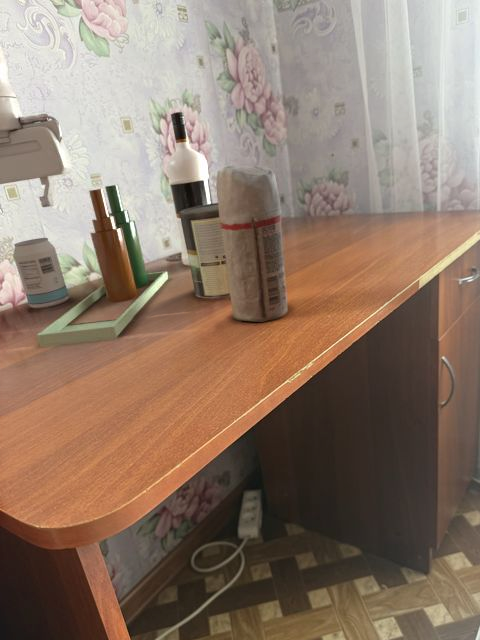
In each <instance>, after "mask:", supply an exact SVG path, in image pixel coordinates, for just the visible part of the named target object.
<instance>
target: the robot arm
mask: <svg viewBox="0 0 480 640" xmlns="http://www.w3.org/2000/svg"><path fill="white" fill-rule="evenodd" d="M72 167H73V163H72V159H71V158H70V155H69V152H68V150H67V147H66V145H65V143H64V140H63V133H62V128H61V125H60V123H59V120H57V118H55V117H54V116H51V115H49V114H48V113H39V114H36V115H28V116H27V115H26V116H23V112H22V109H21V106H20V102H19V99H18V96H17V94H16V92H15V91H14V89H13V87H12V85H11V82H10V76H9V66H8V63H7V60H6V56H5V54H4V51H3V47H2V45H1V44H0V185H4V184H11V183H17V182H22V181H23V182H24V181H29V180H36V179H39V181H40V183H41V184H40V185H42V186H44V188H43V189H44V190H43V195H41V196H39V197H38V198H39V201H40V202H41V203H40V205H41V207H42V208H49V207H54V206H55V200H54V197H53V194H54V190H55V187H56V186H55V185H56V180H55V176H60V175H67V174H70V173H71V171H72ZM2 214H4V211H3V208H2V204H1V203H0V215H2Z"/></svg>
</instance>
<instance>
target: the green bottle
mask: <svg viewBox="0 0 480 640" xmlns="http://www.w3.org/2000/svg"><path fill="white" fill-rule="evenodd" d="M104 188H105V192H106V197H107V201H108V204H109V208H110V212H109V216H114V218H115V222H116V226H117V227H122V231H123V235H124V239H125V243H126V247H127V251H128V256H129V260H130V264H131V268H132V272H133V276H134V281H135V285H136V289H137V290H139V289H142V288H145V287H147V286H150V281H149V280H148V276H147V274H148V272H147V267H146V263H145V259H144V255H143V250H142V247H141V242H140V237H139V233H138V228H137V224H136V220H134V219H130V213H129V210H128V209H124V205H123V201H122V197H121V193H120V189H119V185H118V184H111V185H106V186H104Z"/></svg>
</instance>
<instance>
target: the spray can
mask: <svg viewBox="0 0 480 640" xmlns="http://www.w3.org/2000/svg"><path fill="white" fill-rule="evenodd" d="M215 188H216V196H217V197H216V198H217V203H218V208H219V217H220V227H221V232H222V239H223V246H224V249H223V250H224V251H225V260H226V267H227V278H228V286H229V293H230V296H229V299H230V306H231V311H232V315H231V318H232V319H234V320H236V321H240V322H241V321H245V322H251V323H253V322H256V323H257V322H258V323H261V322H267V321H272V320H276V319H279V318H281V317H283V316H284V315H286V314H287V313H288V311H289V308H288V298H287V297H288V294H287V285H286V284H287V283H286V272H285V259H284V249H283V248H284V247H283V235H282V234H283V233H282V205H281V199H280V195H279V189H278V185H277V179H276V174H275V172H274V170H273V169H272V168H270V167H267V166H265V165H259V166H258V165H241V166H234V165H232V166H230V165H229V166H223V167H222V168H221V169H219V170H217V175H216V185H215Z"/></svg>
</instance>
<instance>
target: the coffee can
mask: <svg viewBox="0 0 480 640" xmlns="http://www.w3.org/2000/svg"><path fill="white" fill-rule="evenodd" d="M212 203H213V202H212ZM179 217H180V218H181V223H182V228H183V233H184V238H185V243H186V249H187V254H188V259H189V264H190V265H189V268H190V273H191V274H190V275H191V278H192V284H193V289H194V295H195V296H196V297H198V298H204V299H216V298H225V297H230V293H229V286H228V278H227V267H226V260H225V251H224V250H223V249H224V246H223V239H222V232H221V227H220V217H219V208H218V202H214V203H213V204H207V205H201V206H196V207H192V208H188V209H184V210H182V211H180V212H179Z"/></svg>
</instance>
